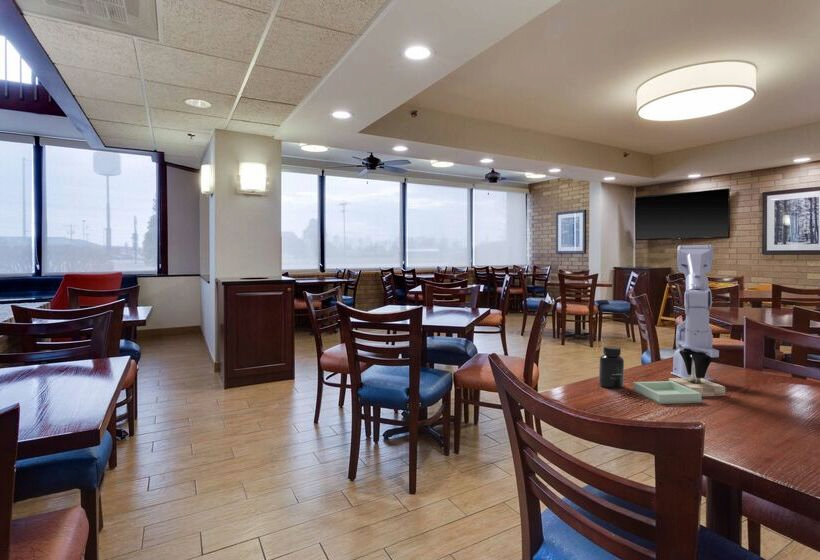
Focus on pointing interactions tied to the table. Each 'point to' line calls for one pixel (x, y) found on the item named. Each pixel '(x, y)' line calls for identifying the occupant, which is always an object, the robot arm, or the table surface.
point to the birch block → (701, 386)
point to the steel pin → (693, 375)
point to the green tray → (667, 392)
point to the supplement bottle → (611, 368)
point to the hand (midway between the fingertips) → (695, 376)
